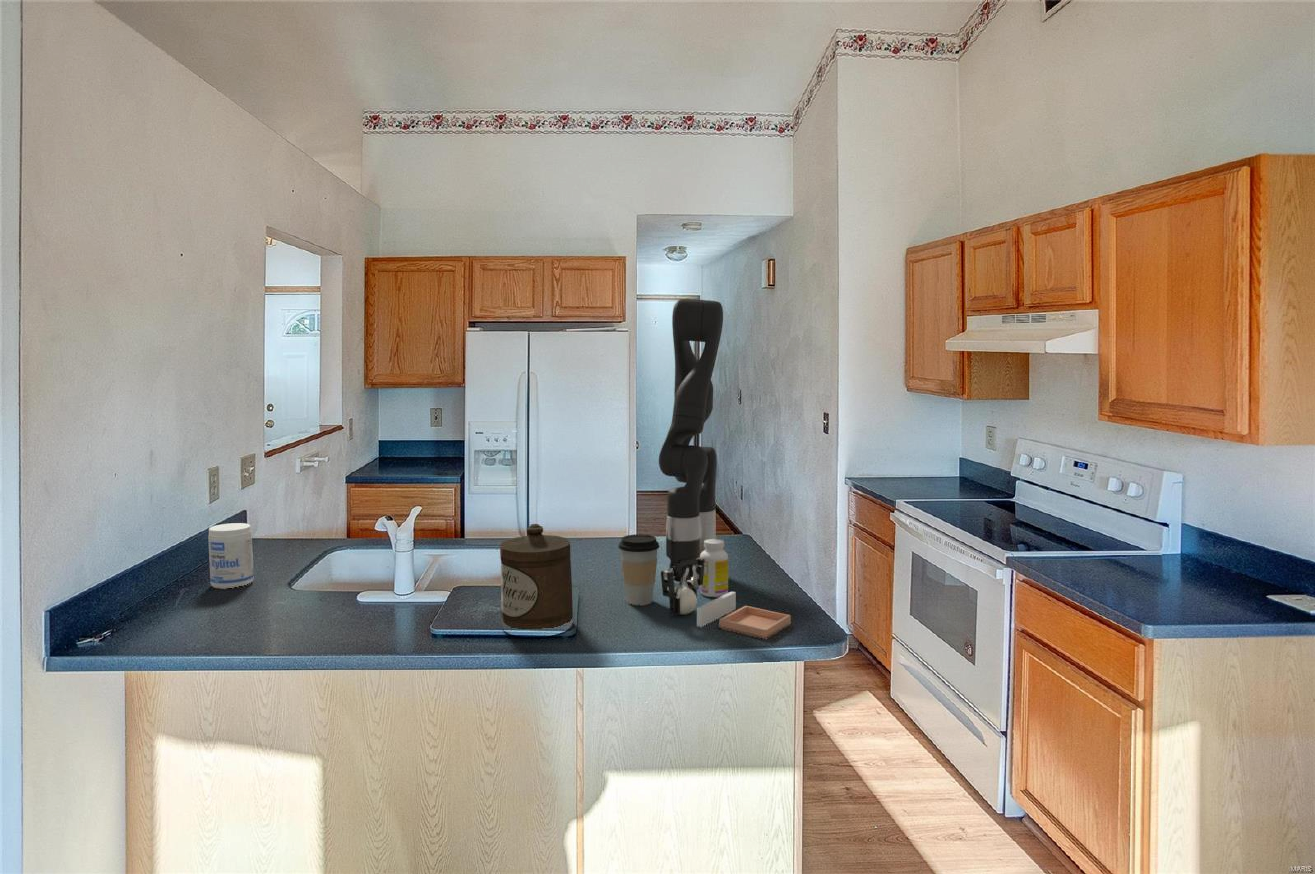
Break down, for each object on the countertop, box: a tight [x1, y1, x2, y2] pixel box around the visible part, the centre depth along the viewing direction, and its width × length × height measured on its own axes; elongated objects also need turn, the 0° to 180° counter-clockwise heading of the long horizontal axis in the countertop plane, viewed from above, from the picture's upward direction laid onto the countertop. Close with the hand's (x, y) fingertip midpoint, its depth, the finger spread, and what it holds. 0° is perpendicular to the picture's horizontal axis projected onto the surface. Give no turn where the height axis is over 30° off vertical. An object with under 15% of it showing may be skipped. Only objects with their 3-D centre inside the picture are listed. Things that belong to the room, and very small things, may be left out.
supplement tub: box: [207, 522, 254, 590], centre depth 202 cm, size 10×10×15 cm
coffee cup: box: [617, 533, 660, 606], centre depth 187 cm, size 9×9×15 cm
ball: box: [675, 586, 698, 615], centre depth 179 cm, size 6×6×6 cm
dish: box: [718, 605, 792, 640], centre depth 171 cm, size 11×11×2 cm
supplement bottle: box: [699, 538, 729, 598], centre depth 193 cm, size 7×7×13 cm
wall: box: [696, 591, 737, 628], centre depth 177 cm, size 1×14×4 cm, turn 144°
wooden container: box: [499, 523, 574, 629], centre depth 171 cm, size 15×15×22 cm
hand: (683, 609), depth 179 cm, fingers closed on ball, 6 cm apart
